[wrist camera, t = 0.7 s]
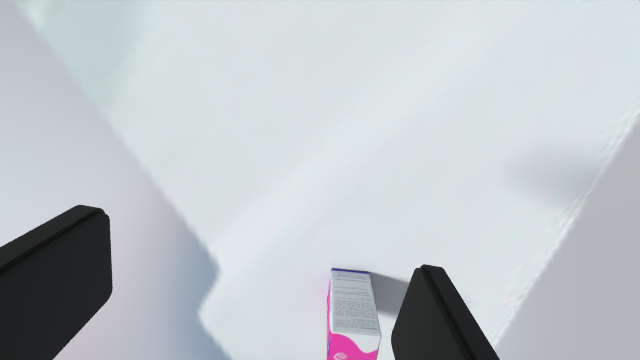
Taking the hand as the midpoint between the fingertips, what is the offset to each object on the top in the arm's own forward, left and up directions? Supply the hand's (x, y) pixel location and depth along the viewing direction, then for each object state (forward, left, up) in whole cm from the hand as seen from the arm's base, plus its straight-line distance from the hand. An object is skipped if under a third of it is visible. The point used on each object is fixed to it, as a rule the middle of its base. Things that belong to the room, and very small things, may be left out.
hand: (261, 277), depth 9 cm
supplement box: (+18, +17, -30) cm, 39 cm away
